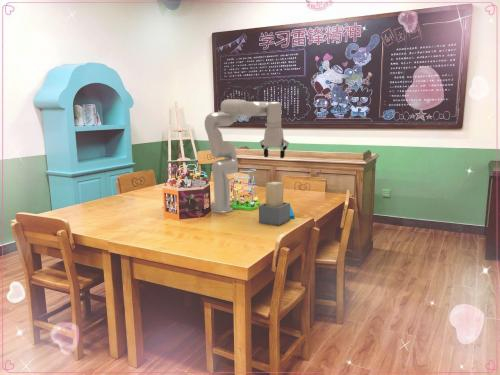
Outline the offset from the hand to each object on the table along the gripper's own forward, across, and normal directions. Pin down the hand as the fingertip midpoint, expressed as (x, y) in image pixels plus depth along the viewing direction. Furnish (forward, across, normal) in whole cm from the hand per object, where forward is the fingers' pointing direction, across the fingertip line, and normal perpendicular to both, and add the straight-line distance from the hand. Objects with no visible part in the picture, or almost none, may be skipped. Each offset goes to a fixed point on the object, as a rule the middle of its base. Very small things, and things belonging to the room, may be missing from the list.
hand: (274, 157), depth 224 cm
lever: (+36, -1, +16) cm, 40 cm away
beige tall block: (+35, 0, 0) cm, 35 cm away
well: (+36, 0, 0) cm, 36 cm away
